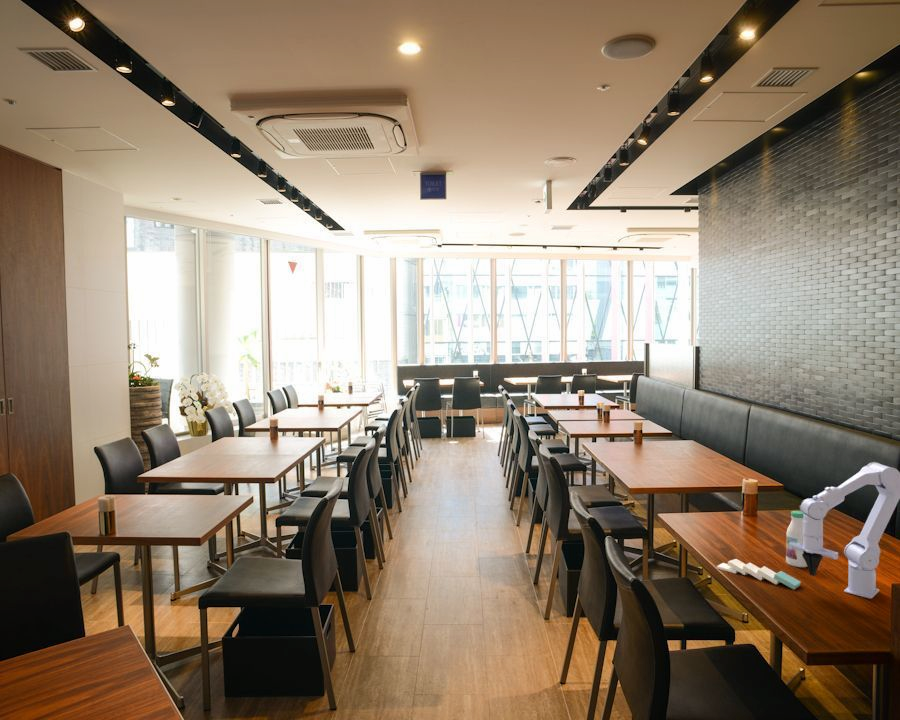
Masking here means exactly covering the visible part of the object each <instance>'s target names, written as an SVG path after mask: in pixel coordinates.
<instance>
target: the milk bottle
mask: <svg viewBox="0 0 900 720" xmlns="http://www.w3.org/2000/svg"><path fill="white" fill-rule="evenodd" d="M790 517H791V521H790V524H789V525H788V526H787V530H786V536H785V537H786V539H785V562H786V563H787V564H788V565H789V566H792V567H795V568H796V567H798V568H808V566H807V564H806V562H805V560H804V558H803V556H802V554H803V551H798V550H794V549H792V550H791V549H789V543H791V542H792V543H798V544H803V513H802V511H801V510H792V511H790Z"/></svg>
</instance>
